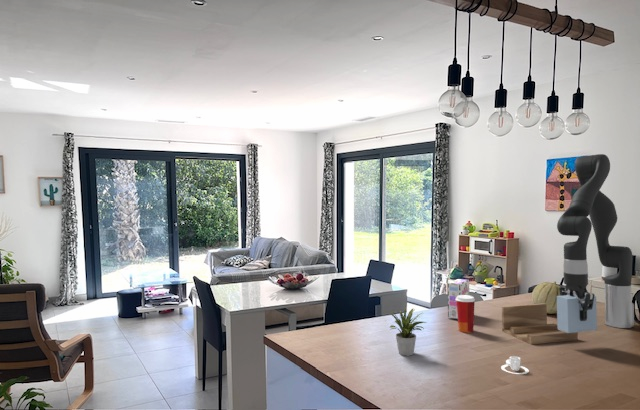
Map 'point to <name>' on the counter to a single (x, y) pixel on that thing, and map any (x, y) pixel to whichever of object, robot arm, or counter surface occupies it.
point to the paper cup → (465, 313)
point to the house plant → (406, 332)
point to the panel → (574, 315)
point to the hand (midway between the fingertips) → (576, 318)
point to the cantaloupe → (546, 296)
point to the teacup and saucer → (514, 365)
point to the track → (532, 324)
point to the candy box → (454, 290)
